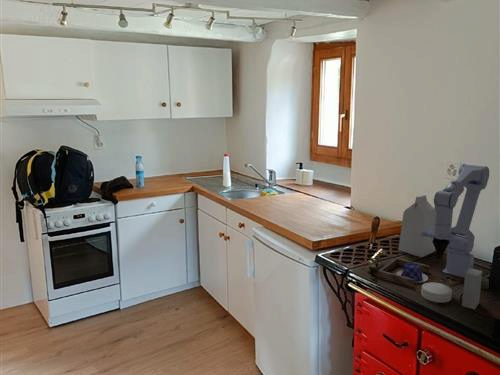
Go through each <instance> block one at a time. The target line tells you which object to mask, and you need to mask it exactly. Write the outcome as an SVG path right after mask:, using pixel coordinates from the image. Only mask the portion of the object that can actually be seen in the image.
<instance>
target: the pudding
mask: <svg viewBox="0 0 500 375" xmlns="http://www.w3.org/2000/svg"><path fill="white" fill-rule="evenodd" d="M395 274H396V275H400V276H404V277H407V278H411V279H414V284H417V283H419V284H420V283H426V281H427V282H428V280H429V277H428V276H427V275H426V274H425V273H424V272H422V271H421V267H420V266H419V265H417V264H414V263H407V264H405V266H404V267H403V268H402V270H398V271H397V272H396V273H395Z"/></svg>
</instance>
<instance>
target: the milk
mask: <svg viewBox="0 0 500 375" xmlns="http://www.w3.org/2000/svg"><path fill="white" fill-rule="evenodd" d="M434 208H435V207H434V206H433V205H431V203H430V202H429V201H428V198H427V194H421V195H417V196H416V197H415V201H414V203H412V204H411V205H410V206H409V207H407V208H406V209H405V210H404V211H403V214H402V220H401V228H400V235H399V242H398V249H397V250H398V251H399V252H403V253H407V254H409V255H413V256H417V257H420V258H423V257H425V256H427V255H430V254H433V253H434V252H436V249H435V247H434V244H433V242H432V241H433V239H434V238H430V237H425V236H424V237H423V236H421V231H423V230H425V231H433V232H434V225H435V214H436V210H435V209H434Z"/></svg>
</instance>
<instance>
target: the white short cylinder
mask: <svg viewBox="0 0 500 375" xmlns="http://www.w3.org/2000/svg"><path fill="white" fill-rule="evenodd" d="M452 293H453V290H452V288H451V287H450V286H448V285H446V284H443V283H440V282H424V283H423V284H422V285H421V293H420V294H421V297H423V298H424V299H425V300H427V301H429V302H433V303H440V304H441V303H442V304H443V303H449V302H450V301H451V300H452V296H453V294H452Z"/></svg>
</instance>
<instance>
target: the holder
mask: <svg viewBox="0 0 500 375" xmlns="http://www.w3.org/2000/svg"><path fill="white" fill-rule="evenodd" d="M407 263H414V264H417V265H419V266H420V267H421V272H422V273H426V274H429V273H430V269H431V266H430V265H427V264H424V263H419V262H414V261H410V260H407V259H403V258H398V257H395V258H394V259H392V260H390V261H389V262H388V263H387V264H384V266H383V267H381V268H380V269H379V270H377V278H379V279H382V280H385V281H390V282H393V283H396V284H399V285H400V284H401V285H404V286H408V287H410V288H414V287H415V283H414V282H415V281H414V279H411V278H407V277H404V276H401V275H396V273H391V271H392V269H394V268H396V266H399V267H403V268H404V266H405V264H407Z"/></svg>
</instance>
